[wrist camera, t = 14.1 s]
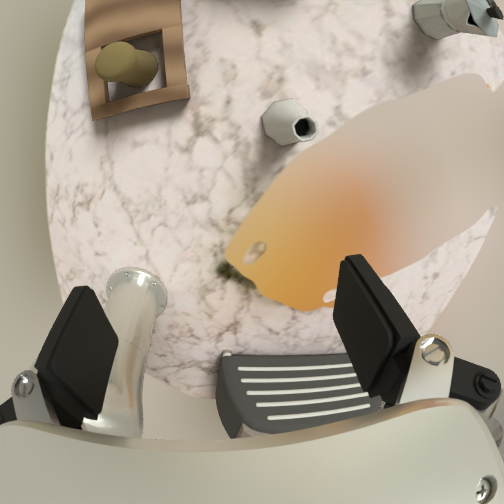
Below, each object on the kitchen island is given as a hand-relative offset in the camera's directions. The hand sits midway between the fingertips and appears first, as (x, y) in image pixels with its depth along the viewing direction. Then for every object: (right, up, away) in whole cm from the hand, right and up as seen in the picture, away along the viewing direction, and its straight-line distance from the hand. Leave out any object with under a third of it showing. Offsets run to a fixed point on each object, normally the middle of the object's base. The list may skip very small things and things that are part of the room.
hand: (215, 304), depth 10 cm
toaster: (+14, -30, +60) cm, 69 cm away
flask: (+6, +21, +27) cm, 35 cm away
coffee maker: (+34, +45, +16) cm, 59 cm away
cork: (-15, +28, +20) cm, 38 cm away
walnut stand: (-15, +32, +18) cm, 40 cm away
